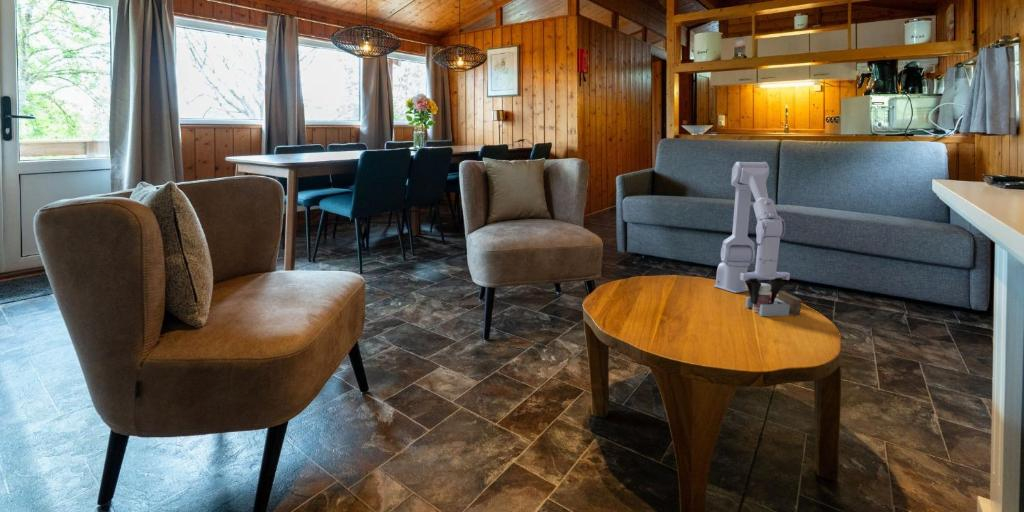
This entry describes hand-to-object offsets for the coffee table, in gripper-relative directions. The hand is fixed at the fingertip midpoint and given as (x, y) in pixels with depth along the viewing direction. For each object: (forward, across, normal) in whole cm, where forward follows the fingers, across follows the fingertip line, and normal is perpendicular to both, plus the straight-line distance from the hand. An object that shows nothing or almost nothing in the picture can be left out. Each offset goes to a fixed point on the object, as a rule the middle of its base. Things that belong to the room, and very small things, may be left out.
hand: (762, 302), depth 161 cm
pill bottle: (+3, 0, 0) cm, 3 cm away
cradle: (+3, +2, 0) cm, 3 cm away
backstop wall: (+3, +8, 0) cm, 9 cm away
